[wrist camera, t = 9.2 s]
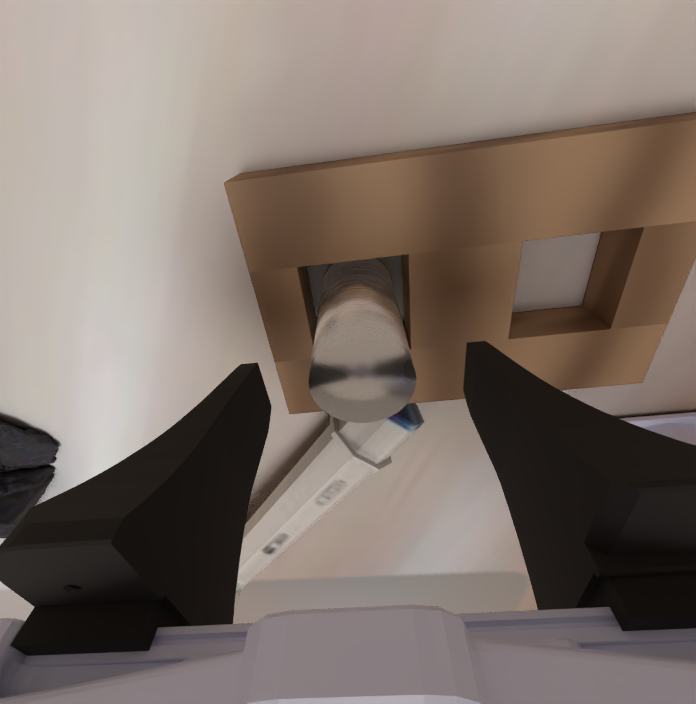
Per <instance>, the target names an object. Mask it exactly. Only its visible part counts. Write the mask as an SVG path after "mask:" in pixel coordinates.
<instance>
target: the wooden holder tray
mask: <svg viewBox="0 0 696 704" xmlns="http://www.w3.org/2000/svg"><path fill="white" fill-rule="evenodd" d="M224 185H225V189H226V192H227V196H228V199H229V203H230V206H231V210H232V213H233V217H234V220H235V224H236V228H237V231H238V235H239V238H240V242H241V245H242V249H243V252H244V256H245V259H246V263H247V266H248V270H249V273H250V277H251V280H252V284H253V287H254V291H255V294H256V298H257V301H258V305H259V308H260V312H261V315H262V319H263V322H264V326H265V330H266V333H267V337H268V340H269V344H270V347H271V351H272V354H273V358H274V361H275V365H276V368H277V372H278V375H279V379H280V382H281V386H282V389H283V393H284V396H285V400H286V403H287V407H288V410H289V414H297V413H308V412H319V411H323V410H322V409H321V408H320V407H319V406H318V405H317V404H316V402H315V401H314V399H313V397H312V395H311V393H310V389H309V373H310V366H311V360H312V353H313V346H314V340H315V333H316V326H317V320H316V315H315V310H314V304H313V299H312V294H311V289H310V283H309V278H308V273H307V268H306V266H312V265H321V264H329V263H338V262H346V261H355V260H364V259H372V258H381V257H390V256H398V255H402V268H403V296H404V323H405V324H403V326H404V330H405V334H406V338H407V342H408V346H409V349H410V353H411V357H412V361H413V365H414V368H415V372H416V387H415V391H414V393H413V396H412V397H411V399H410V401H409V402H408V403H407V404H409V403H421V402H432V401H443V400H455V399H466V398H465V395H464V391H463V384H464V371H465V358H466V344H467V342H478V341H486V342H488V343H489V344H491V345H492V346H494V347H495V348H496V349H498V350H499V351H501V352H502V353H503V354H505V355H506V356H508V357H509V358H510V359H512V360H513V361H515V362H516V363H517V364H519V365H520V366H522V367H523V368H525V369H526V370H528V371H529V372H531V373H532V374H534V375H535V376H537V377H539V378H540V379H542V380H543V381H545V382H547V383H548V384H550V385H552V386H553V387H555V388H557V389H558V390H567V389H578V388H590V387H601V386H612V385H623V384H635V383H643V380H644V378H645V376H646V373H647V371H648V369H649V366H650V364H651V362H652V359H653V357H654V355H655V352H656V350H657V348H658V345H659V343H660V341H661V338H662V336H663V334H664V331H665V329H666V327H667V324H668V322H669V320H670V317H671V315H672V313H673V310H674V308H675V306H676V303H677V301H678V299H679V296H680V294H681V291H682V289H683V287H684V284H685V282H686V280H687V277H688V275H689V273H690V270H691V268H692V266H693V263H694V261H695V259H696V112H694V113H686V114H679V115H672V116H664V117H657V118H649V119H642V120H634V121H627V122H620V123H612V124H605V125H597V126H590V127H583V128H575V129H568V130H560V131H553V132H545V133H538V134H531V135H523V136H516V137H508V138H501V139H493V140H486V141H479V142H471V143H464V144H456V145H449V146H441V147H434V148H427V149H419V150H412V151H404V152H397V153H390V154H382V155H375V156H367V157H360V158H352V159H345V160H338V161H330V162H323V163H315V164H308V165H300V166H293V167H286V168H278V169H271V170H263V171H256V172H249V173H241V174H239V175H237V176H235V177H233V178H231V179H230V180H228V181H226V182H224ZM597 232H602V234H601V238H600V241H599V245H598V249H597V252H596V256H595V260H594V264H593V267H592V271H591V275H590V279H589V282H588V286H587V290H586V293H585V297H584V301H583V305H582V306H576V307H567V308H557V309H547V310H537V311H528V312H518V313H512V310H513V303H514V297H515V290H516V283H517V277H518V270H519V264H520V257H521V250H522V244H523V241H528V240H536V239H545V238H553V237H562V236H571V235H579V234H588V233H597Z"/></svg>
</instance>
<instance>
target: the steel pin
mask: <svg viewBox="0 0 696 704" xmlns="http://www.w3.org/2000/svg"><path fill="white" fill-rule="evenodd" d="M415 387H416V372H415V368H414V365H413V361H412V357H411V353H410V349H409V346H408V342H407V338H406V334H405V330H404V326H403V323H402V319H401V315H400V311H399V307H398V303H397V300H396V296H395V292H394V288H393V284H392V280H391V277H390V274H389V272H388V270H387V268H386V267H385V266H384V265H383V264H382V263H381V262H380V261H379V260H377V259H376V258H372V259H364V260H355V261H346V262H338V263H333V264H332V265H331V266H330V267H329V269H328V270H327V272H326V274H325V276H324V280H323V286H322V292H321V299H320V306H319V313H318V319H317V326H316V333H315V340H314V346H313V353H312V360H311V366H310V373H309V389H310V393H311V395H312V397H313V399H314V401H315V402H316V404H317V405H318V406H319V407H320V408H321V409H322V410H323V411H325V412H326V413H327V414H329V415H331V416H333V417H335V418H337V419H340V420H343V421H347V422H352V423H370V422H376V421H380V420H383V419H386V418H388V417H390V416H392V415H394V414H396V413H397V412H399V411H400V410H401V409H402V408H403V407H404V406H406V404H407V403H408V402H409V401H410V399H411V397H412V396H413V393H414V391H415Z"/></svg>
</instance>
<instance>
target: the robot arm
mask: <svg viewBox="0 0 696 704" xmlns="http://www.w3.org/2000/svg"><path fill="white" fill-rule="evenodd" d="M463 391H464V395H465V398H466V402H467V405H468V408H469V412H470V415H471V417H472V420H473V422H474V424H475V426H476V429H477V431H478V433H479V435H480V437H481V440H482V442H483V444H484V446H485V448H486V451H487V453H488V455H489V457H490V459H491V462H492V464H493V466H494V468H495V471H496V473H497V475H498V478H499V480H500V483H501V486H502V489H503V492H504V495H505V498H506V501H507V504H508V507H509V510H510V513H511V517H512V520H513V523H514V526H515V529H516V533H517V536H518V539H519V542H520V546H521V549H522V553H523V556H524V560H525V563H526V567H527V570H528V574H529V577H530V581H531V585H532V589H533V592H534V596H535V600H536V604H537V607H538V610H530V611H508V612H487V613H465V614H455V613H452V612H450V611H447V610H445V609H442V608H440V607H437V606H423V605H397V606H376V607H355V608H333V609H313V610H291V611H285V612H279V613H273V614H268V615H266V616H265V617H263V618H261V619H260V620H258V621H257V622H255V623H247V624H233V615H234V605H235V595H236V587H237V579H238V571H239V562H240V555H241V548H242V542H243V535H244V528H245V522H246V517H247V511H248V505H249V500H250V495H251V491H252V487H253V484H254V480H255V477H256V473H257V470H258V466H259V463H260V459H261V456H262V452H263V449H264V445H265V441H266V438H267V434H268V429H269V422H270V415H271V404H270V400H269V397H268V394H267V391H266V388H265V385H264V381H263V378H262V375H261V372H260V369H259V366H258V363H251V364H241V365H240V366H238V367H237V368H236V369H235V370H234V371H233V372H232V373H231V374H230V375H229V376H228V377H227V378H226V379H225V380H224V381H222V382H221V383H220V384H219V385H218V386H217V387H216V388H215V389H214V390H213V391H212V392H211V393H210V394H209V395H208V396H207V397H206V398H205V399H204V400H203V401H201V402H200V403H199V404H198V405H197V406H196V407H195V408H193V409H192V410H191V411H190V412H189V413H188V414H187V415H185V416H184V417H183V418H182V419H181V420H180V421H178V422H177V423H176V424H175V425H173V426H172V427H171V428H170V429H168V430H167V431H166V432H164V433H163V434H162V435H160V436H159V437H157V438H156V439H155V440H153V441H152V442H150V443H149V444H147V445H146V446H144V447H143V448H141V449H140V450H138V451H137V452H135V453H133V454H132V455H130V456H129V457H127V458H126V459H124V460H123V461H121V462H119V463H118V464H116V465H114V466H113V467H111V468H109V469H107V470H106V471H104V472H102V473H100V474H98V475H97V476H95V477H93V478H91V479H89V480H87V481H85V482H84V483H82V484H80V485H78V486H76V487H74V488H72V489H70V490H68V491H65V492H63V493H61V494H59V495H57V496H55V497H53V498H51V499H49V500H47V501H45V502H42V503H40V504H38V505H36V506H34V507H31V508H30V509H29V511H28V512H27V513H26V514H25V515H24V517H23V518H22V519H21V520H20V522H19V523H18V524H17V525H16V527H15V528H14V529H13V530H12V532H11V533H10V534H9V535H8V537H7V538H6V539H5V540H4V542H3V543H2V544H1V545H0V581H1V582H2V583H3V584H5V585H6V586H7V587H9V588H10V589H11V590H13V591H14V592H15V593H17V594H18V595H20V596H21V597H22V598H24V599H25V600H26V601H28V602H29V603H31V604H32V605H33V606H35V607H34V609H33V611H32V612H31V614H30V615H29V617H28V618H27V620H26V621H22V620H18V619H11V618H1V619H0V704H696V412H692V413H680V414H668V415H656V416H644V417H631V418H617V417H614V416H612V415H609V414H607V413H605V412H602V411H600V410H598V409H596V408H594V407H591V406H589V405H587V404H585V403H583V402H581V401H579V400H577V399H575V398H573V397H571V396H569V395H568V394H566V393H564V392H562V391H560V390H558V389H557V388H555V387H553V386H552V385H550V384H548V383H547V382H545V381H543V380H542V379H540V378H539V377H537V376H535V375H534V374H532V373H531V372H529V371H528V370H526V369H525V368H523V367H522V366H520V365H519V364H517V363H516V362H515V361H513V360H512V359H510V358H509V357H508V356H506V355H505V354H503V353H502V352H501V351H499V350H498V349H496V348H495V347H494V346H492V345H491V344H489V343H488V342H486V341H478V342H467V344H466V358H465V371H464V384H463Z"/></svg>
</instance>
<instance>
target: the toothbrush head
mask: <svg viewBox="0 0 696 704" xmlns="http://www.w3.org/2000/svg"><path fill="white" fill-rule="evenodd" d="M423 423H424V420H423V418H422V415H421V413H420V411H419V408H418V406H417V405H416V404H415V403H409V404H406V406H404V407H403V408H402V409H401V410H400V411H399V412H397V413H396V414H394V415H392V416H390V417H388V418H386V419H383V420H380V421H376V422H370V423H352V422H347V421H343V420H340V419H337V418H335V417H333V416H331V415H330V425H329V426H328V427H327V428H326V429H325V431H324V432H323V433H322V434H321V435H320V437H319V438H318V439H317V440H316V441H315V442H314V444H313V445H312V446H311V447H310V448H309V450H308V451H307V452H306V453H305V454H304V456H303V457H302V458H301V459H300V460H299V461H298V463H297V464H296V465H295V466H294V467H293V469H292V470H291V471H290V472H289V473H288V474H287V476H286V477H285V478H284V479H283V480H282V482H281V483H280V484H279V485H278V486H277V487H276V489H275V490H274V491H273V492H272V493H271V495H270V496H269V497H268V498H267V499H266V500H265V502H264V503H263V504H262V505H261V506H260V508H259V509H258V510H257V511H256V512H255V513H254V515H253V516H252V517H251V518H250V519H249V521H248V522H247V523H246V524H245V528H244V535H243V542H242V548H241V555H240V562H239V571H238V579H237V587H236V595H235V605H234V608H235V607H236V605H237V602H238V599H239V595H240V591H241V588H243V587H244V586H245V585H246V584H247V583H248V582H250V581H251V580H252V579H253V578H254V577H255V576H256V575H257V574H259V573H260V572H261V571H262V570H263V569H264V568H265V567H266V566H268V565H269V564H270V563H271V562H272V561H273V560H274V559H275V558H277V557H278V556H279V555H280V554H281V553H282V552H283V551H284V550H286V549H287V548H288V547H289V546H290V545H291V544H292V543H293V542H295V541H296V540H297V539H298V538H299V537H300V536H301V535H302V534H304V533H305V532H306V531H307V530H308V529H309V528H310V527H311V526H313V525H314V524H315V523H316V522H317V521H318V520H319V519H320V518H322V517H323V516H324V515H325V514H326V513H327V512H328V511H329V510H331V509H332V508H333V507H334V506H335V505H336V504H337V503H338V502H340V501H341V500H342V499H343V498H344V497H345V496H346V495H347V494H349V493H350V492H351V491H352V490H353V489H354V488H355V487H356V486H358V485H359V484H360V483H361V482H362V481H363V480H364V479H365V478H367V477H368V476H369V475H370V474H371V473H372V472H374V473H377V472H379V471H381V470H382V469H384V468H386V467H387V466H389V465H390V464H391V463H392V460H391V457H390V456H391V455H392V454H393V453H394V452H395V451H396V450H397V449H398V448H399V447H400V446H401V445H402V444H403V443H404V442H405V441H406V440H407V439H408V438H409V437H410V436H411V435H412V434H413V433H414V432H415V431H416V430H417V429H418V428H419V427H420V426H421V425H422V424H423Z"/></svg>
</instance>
